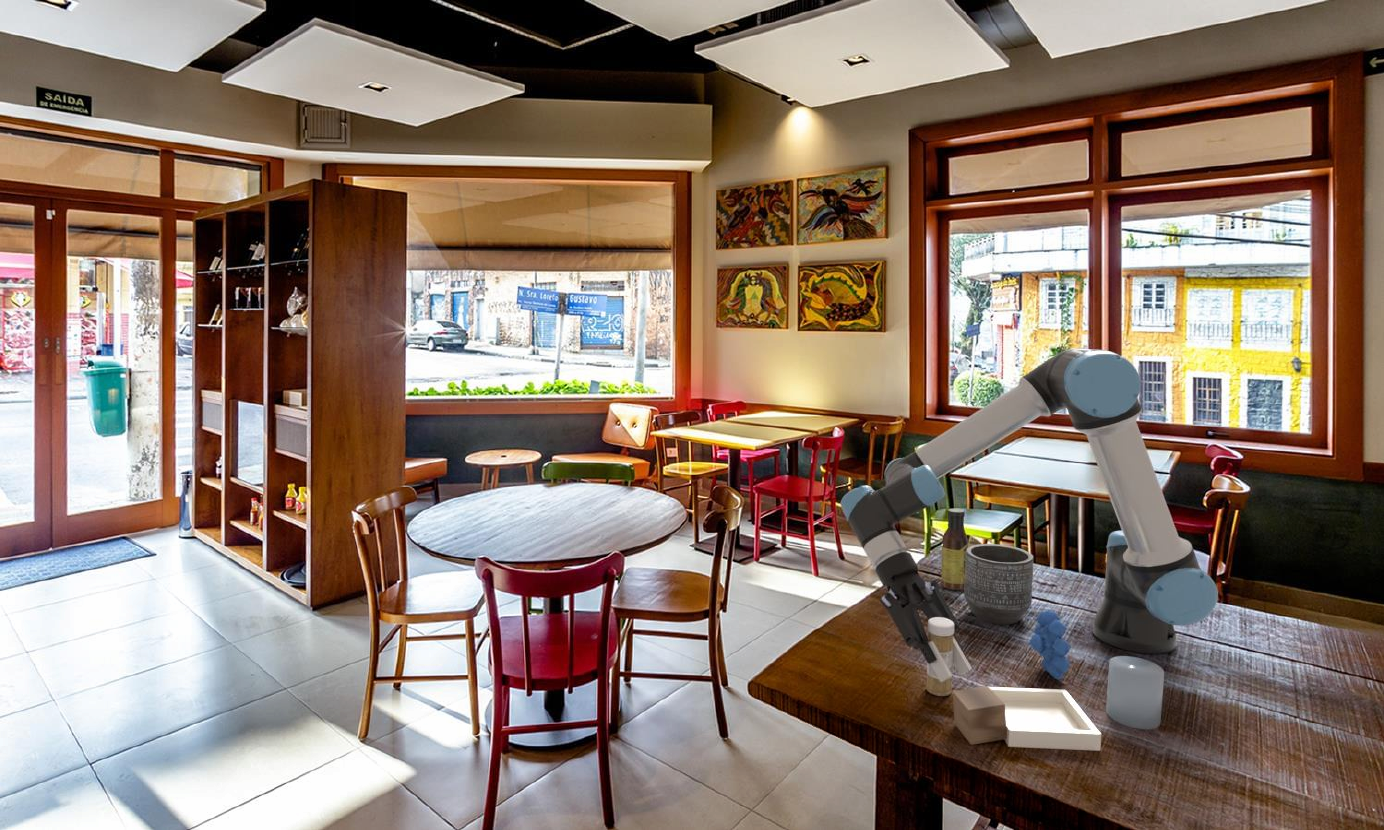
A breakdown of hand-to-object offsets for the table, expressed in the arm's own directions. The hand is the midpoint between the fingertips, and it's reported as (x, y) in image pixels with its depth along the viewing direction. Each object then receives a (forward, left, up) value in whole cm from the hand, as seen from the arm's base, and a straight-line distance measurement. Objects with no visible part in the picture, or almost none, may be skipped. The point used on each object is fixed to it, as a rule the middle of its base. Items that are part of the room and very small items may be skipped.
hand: (956, 675), depth 132 cm
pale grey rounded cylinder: (-29, +2, -5) cm, 29 cm away
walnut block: (-1, +11, -4) cm, 12 cm away
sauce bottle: (-14, -57, -5) cm, 59 cm away
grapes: (-20, -12, -5) cm, 24 cm away
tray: (-12, +7, -5) cm, 15 cm away
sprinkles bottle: (+2, -3, -5) cm, 6 cm away
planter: (-19, -39, -5) cm, 44 cm away
